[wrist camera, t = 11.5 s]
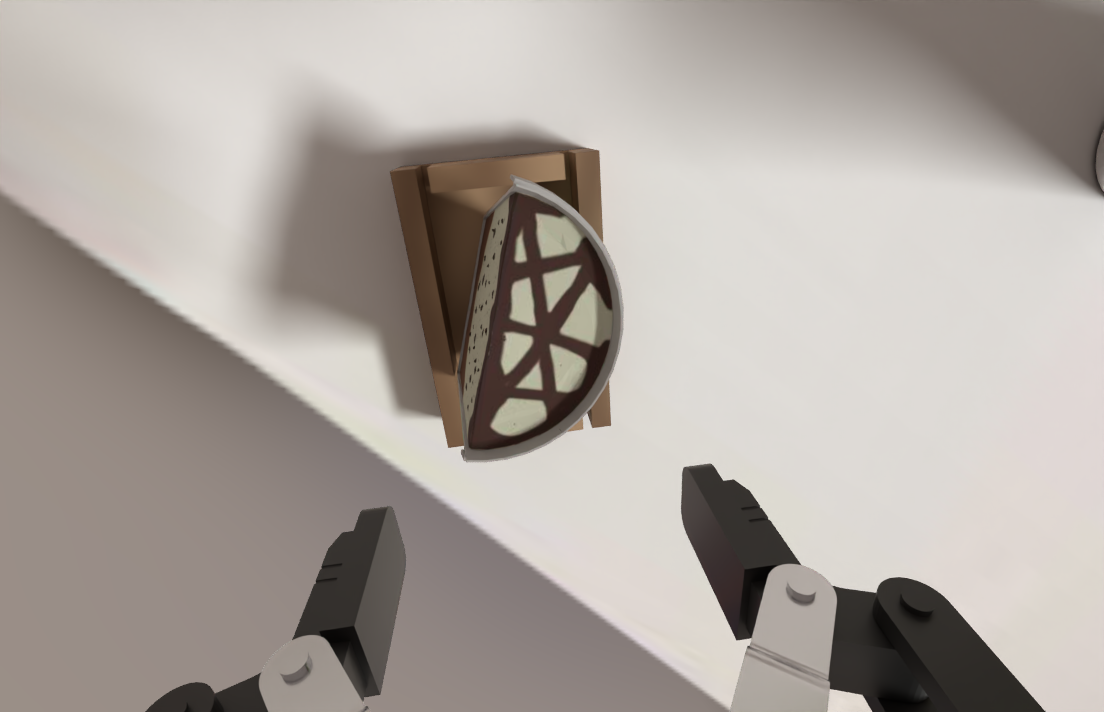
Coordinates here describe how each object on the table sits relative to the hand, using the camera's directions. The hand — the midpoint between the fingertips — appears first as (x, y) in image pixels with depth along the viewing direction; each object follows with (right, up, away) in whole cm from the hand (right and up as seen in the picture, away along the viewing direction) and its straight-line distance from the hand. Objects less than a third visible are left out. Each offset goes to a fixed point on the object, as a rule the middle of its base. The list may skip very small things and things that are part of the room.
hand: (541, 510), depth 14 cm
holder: (-2, +8, +17) cm, 19 cm away
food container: (-2, +7, +16) cm, 18 cm away
